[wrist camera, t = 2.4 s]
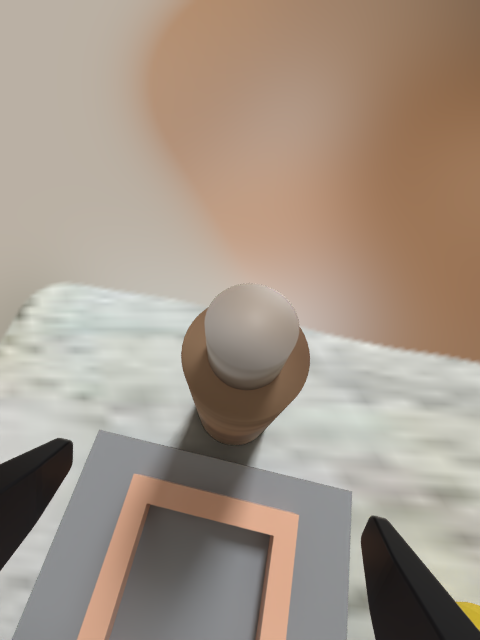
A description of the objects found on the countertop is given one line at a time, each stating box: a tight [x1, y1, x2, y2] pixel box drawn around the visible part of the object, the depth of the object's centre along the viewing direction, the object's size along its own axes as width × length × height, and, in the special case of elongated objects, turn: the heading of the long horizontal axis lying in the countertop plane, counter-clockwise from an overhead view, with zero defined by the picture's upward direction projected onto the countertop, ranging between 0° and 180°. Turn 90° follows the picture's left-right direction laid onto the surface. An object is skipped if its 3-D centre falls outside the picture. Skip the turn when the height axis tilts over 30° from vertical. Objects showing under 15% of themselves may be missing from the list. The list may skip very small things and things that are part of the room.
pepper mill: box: [181, 284, 310, 445], centre depth 15 cm, size 5×5×13 cm
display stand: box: [12, 430, 352, 640], centre depth 15 cm, size 13×16×2 cm
